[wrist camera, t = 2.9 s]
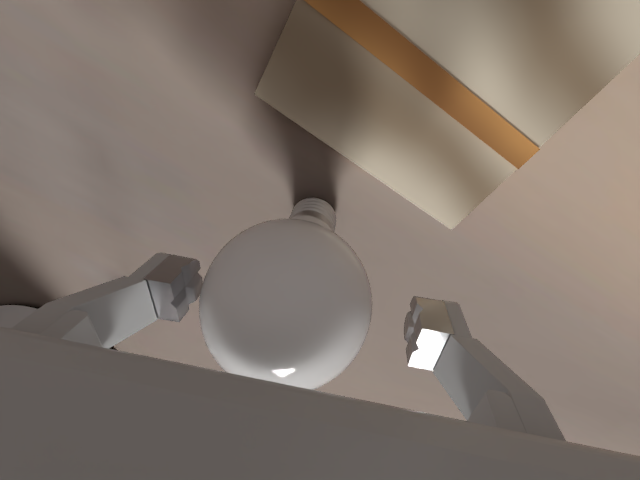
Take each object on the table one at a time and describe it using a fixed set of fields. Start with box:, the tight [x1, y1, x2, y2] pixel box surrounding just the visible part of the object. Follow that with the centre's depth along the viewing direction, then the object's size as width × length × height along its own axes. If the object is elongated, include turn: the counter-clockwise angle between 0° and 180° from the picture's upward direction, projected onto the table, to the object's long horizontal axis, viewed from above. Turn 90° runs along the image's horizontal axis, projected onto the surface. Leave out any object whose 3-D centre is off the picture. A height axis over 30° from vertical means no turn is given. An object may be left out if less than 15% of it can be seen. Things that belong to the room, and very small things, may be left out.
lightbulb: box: [199, 197, 372, 390], centre depth 13 cm, size 6×6×11 cm
